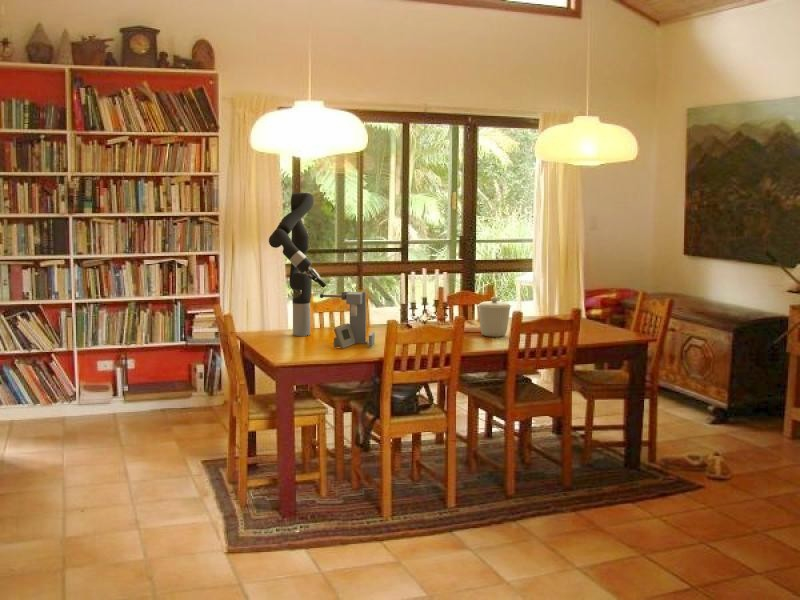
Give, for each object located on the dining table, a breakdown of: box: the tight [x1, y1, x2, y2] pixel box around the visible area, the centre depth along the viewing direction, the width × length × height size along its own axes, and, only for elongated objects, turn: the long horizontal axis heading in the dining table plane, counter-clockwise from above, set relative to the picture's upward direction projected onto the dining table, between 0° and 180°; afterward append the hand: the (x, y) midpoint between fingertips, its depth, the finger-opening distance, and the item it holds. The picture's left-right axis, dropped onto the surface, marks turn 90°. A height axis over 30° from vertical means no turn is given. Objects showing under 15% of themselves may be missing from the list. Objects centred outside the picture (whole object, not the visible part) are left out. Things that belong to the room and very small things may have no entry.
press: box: [341, 291, 376, 348], centre depth 431 cm, size 14×17×26 cm
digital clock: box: [333, 323, 355, 350], centre depth 428 cm, size 16×9×11 cm, turn 149°
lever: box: [319, 293, 346, 299], centre depth 434 cm, size 2×14×2 cm, turn 85°
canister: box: [477, 296, 512, 338], centre depth 463 cm, size 18×18×21 cm
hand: (324, 286), depth 434 cm, fingers closed
